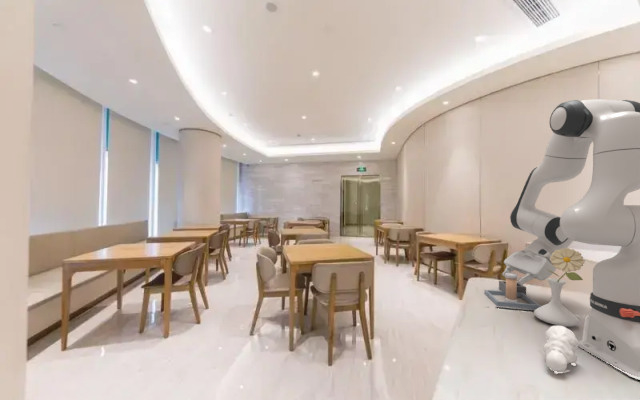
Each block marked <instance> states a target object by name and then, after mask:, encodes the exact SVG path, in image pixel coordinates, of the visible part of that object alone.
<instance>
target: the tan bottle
mask: <svg viewBox="0 0 640 400" xmlns="http://www.w3.org/2000/svg"><path fill="white" fill-rule="evenodd" d="M504 277H505V281H506V296H505V297H504V302H514V303H518V299H517V298H518V297H517V282H518V281H517V280H518V273H515V272H514V273H513V272H510V273H505V276H504Z"/></svg>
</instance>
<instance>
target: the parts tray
mask: <svg viewBox="0 0 640 400" xmlns="http://www.w3.org/2000/svg"><path fill="white" fill-rule="evenodd" d="M484 295H485V296H487V298H489V300H490V301H492V302H493V304H495V305H496V306H495V308H496V309H498V308H499V309H501V310H508V311H509V310H510V311H518V310H519V312H520V311H522V312H530V313H531V312H532V313H534V311H535V310H536V309H537V308H539V307H541V306H542V305H541V304H539V303H538V302H537V301H535V300H534V299H532V298H531V297H529V296H528V295H527V294H526V295H525V294H524V293H518V292H517V298H522V299H523V300H525V301H526V302H527V303H523V302H517V303H514V302H506V301H499V300H498V299H497V298H496V297H495V296H502V297H504V296H505V297H506V291H501V290H494V289H493V290H491V289H484Z"/></svg>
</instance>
